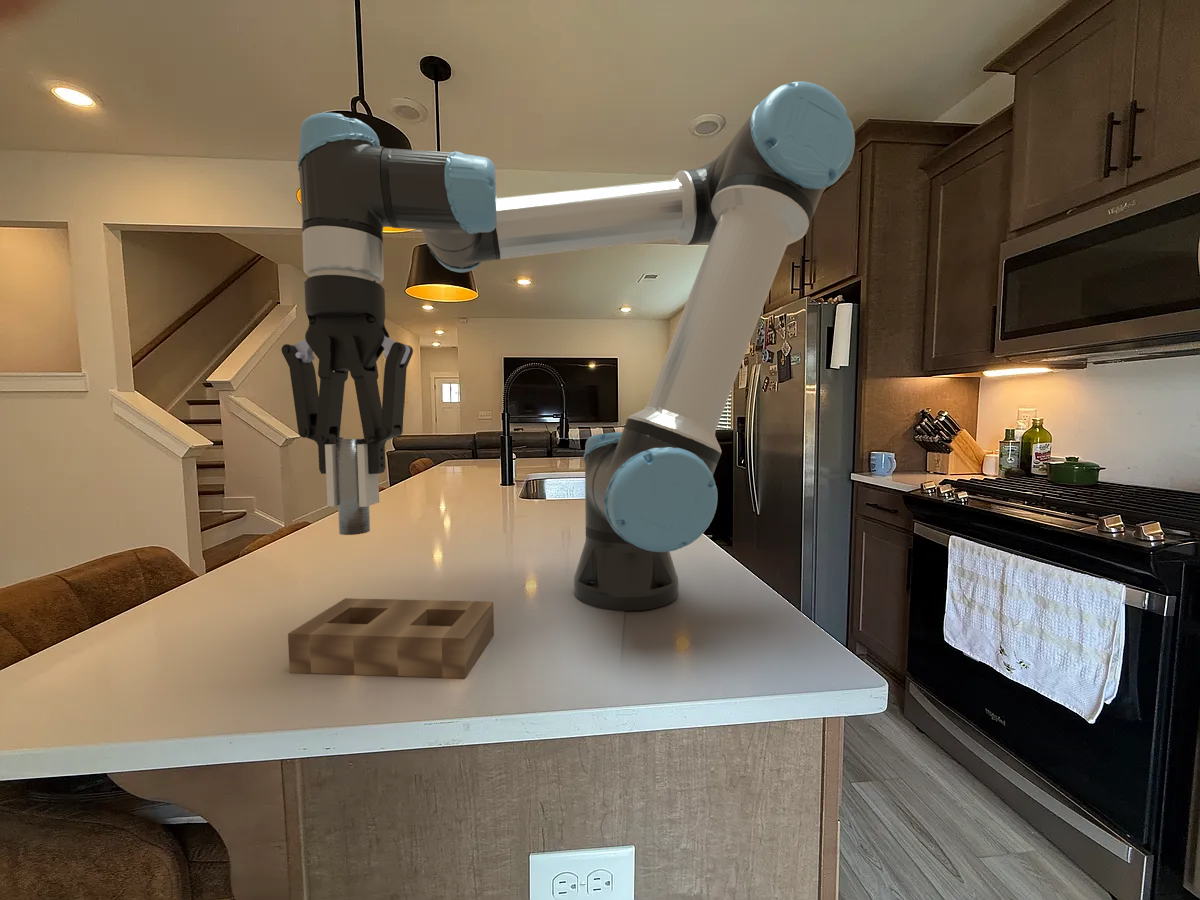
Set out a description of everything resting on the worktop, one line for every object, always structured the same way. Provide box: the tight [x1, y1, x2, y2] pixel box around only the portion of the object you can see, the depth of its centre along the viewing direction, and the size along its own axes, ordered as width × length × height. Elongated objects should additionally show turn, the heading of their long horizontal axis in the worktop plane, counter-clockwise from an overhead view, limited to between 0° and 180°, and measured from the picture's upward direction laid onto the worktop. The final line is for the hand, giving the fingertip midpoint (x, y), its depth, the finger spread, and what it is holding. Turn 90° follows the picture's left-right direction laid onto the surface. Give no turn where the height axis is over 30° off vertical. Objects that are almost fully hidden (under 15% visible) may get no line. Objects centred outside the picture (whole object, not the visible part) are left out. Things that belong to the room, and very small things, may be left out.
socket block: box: [287, 598, 495, 679], centre depth 56 cm, size 18×10×4 cm, turn 86°
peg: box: [336, 437, 371, 536], centre depth 55 cm, size 3×3×10 cm
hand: (353, 503), depth 55 cm, fingers closed on peg, 3 cm apart
